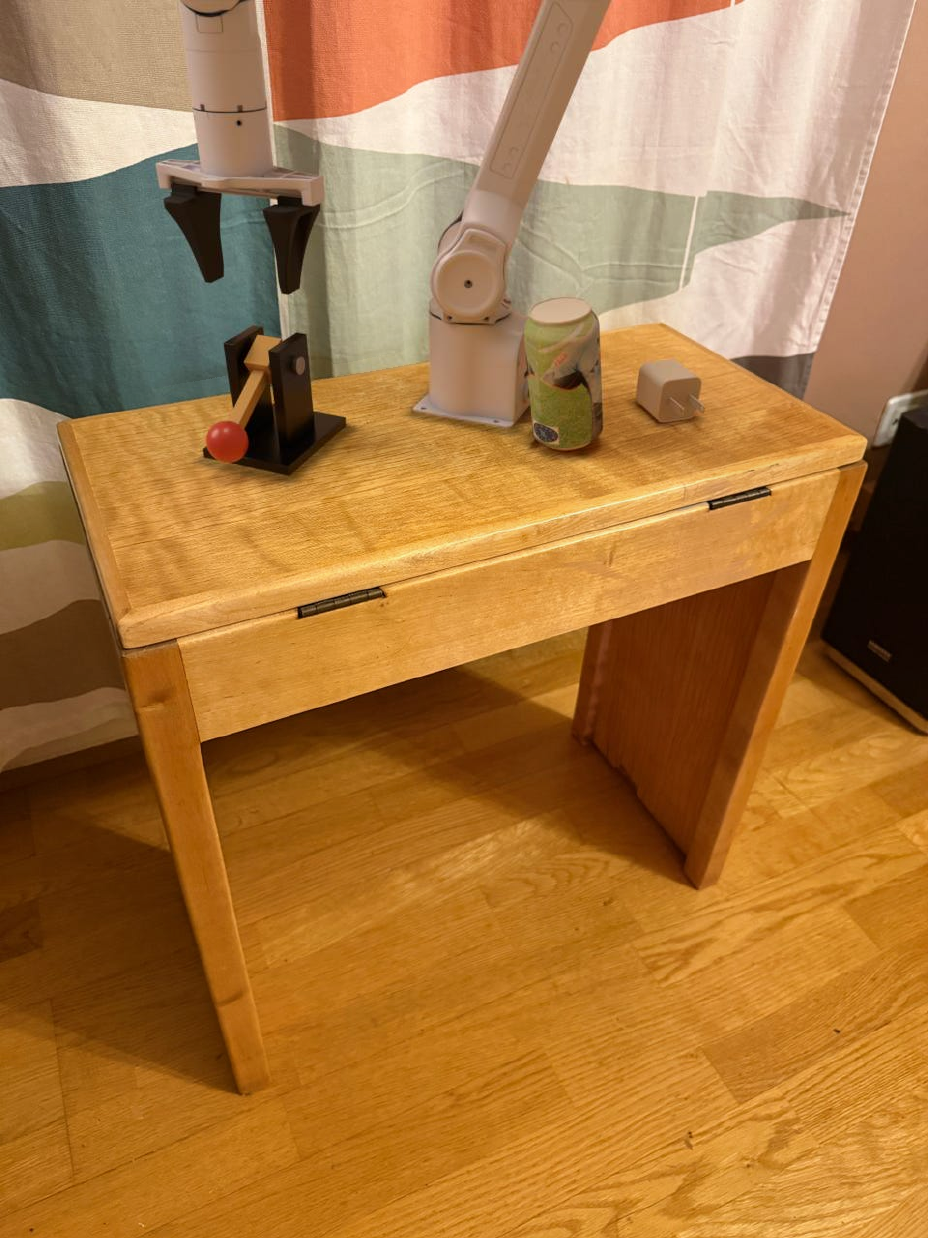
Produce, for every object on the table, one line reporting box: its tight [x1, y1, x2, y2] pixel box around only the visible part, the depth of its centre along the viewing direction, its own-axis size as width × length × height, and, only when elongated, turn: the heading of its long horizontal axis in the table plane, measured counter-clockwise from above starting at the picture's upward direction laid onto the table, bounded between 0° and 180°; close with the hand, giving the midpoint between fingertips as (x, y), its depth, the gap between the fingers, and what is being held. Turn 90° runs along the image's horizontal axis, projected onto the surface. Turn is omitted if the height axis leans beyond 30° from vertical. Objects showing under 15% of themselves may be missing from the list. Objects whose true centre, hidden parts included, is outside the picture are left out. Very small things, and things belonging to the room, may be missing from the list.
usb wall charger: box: [635, 358, 706, 423], centre depth 82 cm, size 4×7×4 cm, turn 18°
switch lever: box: [205, 335, 283, 464], centre depth 72 cm, size 11×3×3 cm
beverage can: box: [524, 296, 604, 451], centre depth 76 cm, size 6×7×12 cm
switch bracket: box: [202, 325, 347, 476], centre depth 75 cm, size 10×8×9 cm
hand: (252, 285), depth 79 cm, fingers open, 7 cm apart
